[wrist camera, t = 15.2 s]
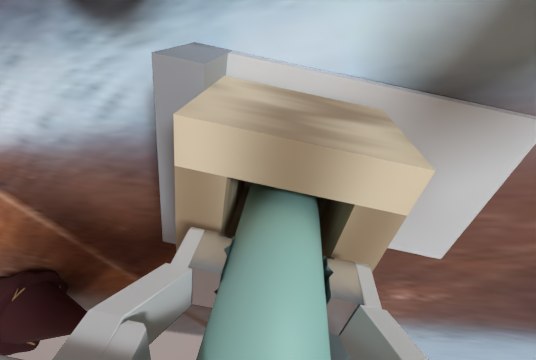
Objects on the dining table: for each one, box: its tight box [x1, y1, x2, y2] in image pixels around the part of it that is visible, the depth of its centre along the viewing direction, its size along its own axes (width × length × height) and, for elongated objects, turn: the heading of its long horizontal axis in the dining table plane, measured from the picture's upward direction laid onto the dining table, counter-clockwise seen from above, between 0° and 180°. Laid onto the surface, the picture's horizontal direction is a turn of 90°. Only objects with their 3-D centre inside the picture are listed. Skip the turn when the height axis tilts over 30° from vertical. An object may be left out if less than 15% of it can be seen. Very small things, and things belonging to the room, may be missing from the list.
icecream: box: [0, 271, 87, 356], centre depth 24 cm, size 7×7×15 cm
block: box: [173, 76, 435, 272], centre depth 12 cm, size 8×8×6 cm
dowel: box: [196, 182, 331, 360], centre depth 9 cm, size 3×3×9 cm
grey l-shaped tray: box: [152, 42, 536, 259], centre depth 14 cm, size 18×10×4 cm, turn 80°
